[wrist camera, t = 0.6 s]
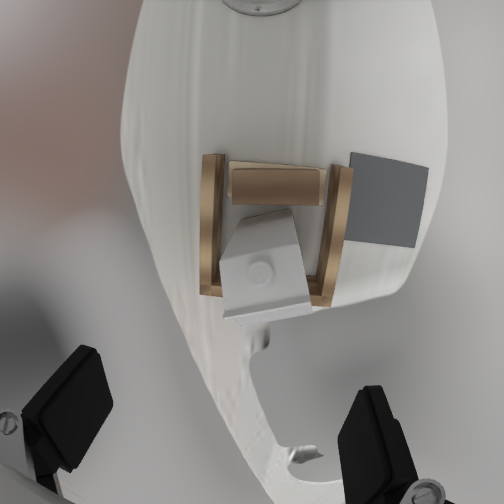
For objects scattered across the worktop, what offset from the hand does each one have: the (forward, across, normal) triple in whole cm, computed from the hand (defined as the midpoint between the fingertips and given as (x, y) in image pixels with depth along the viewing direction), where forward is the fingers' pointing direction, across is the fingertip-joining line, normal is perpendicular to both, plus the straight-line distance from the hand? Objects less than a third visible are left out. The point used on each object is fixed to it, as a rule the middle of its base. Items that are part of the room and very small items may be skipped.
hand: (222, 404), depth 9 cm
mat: (+32, -17, -5) cm, 36 cm away
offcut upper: (+29, -1, -5) cm, 30 cm away
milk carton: (+32, -1, +2) cm, 32 cm away
